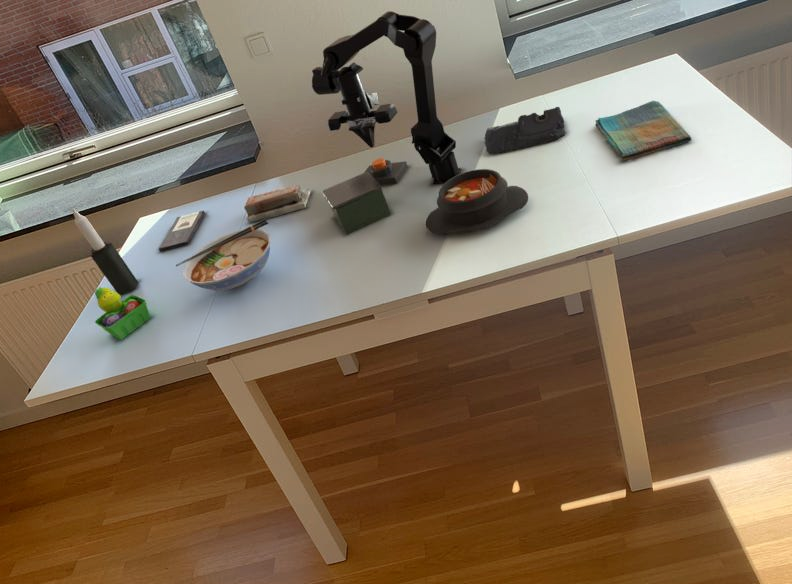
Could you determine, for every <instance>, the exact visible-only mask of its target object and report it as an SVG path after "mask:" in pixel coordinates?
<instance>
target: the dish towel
mask: <svg viewBox="0 0 792 584" xmlns="http://www.w3.org/2000/svg"><path fill="white" fill-rule="evenodd" d="M594 125H595V127H596V129H598V131H599V132H600V133H601V134H602V135H603V136H604V138H605V139H606V140H607V142H609V144H610V145H611V146H612V147H613V148H614V150H615V152H616V153H617V154H618V156H619V157H620V158H621V160H622V161H623V162H625V161H628V160H631V159H634V158H638V157H641V156H645V155H649V154H651V153H654V152H658V151H662V150H666V149H669V148H673V147H677V146H678V145H679V146H680V145H683V144H687V143H689V142H691V141H692V137H691V136H690V134H689V133H688V132H687V131H686V130H685V128H684V127H682V125H681V124H680V123H679V122H678V121H677V120H676V119H675V117H673V115H671V113H670V112H669V111H668V110H667V109H666V107H664V105H663V104H662V103H661V102H660V101H659V100H651V101H648V102H646V103H644V104H642V105H638V106H637V107H633V108H631V109H627V110H625V111H623V112H620V113H617V114H613V115H609V116H603V117H598V118H597V119H596V120H595V124H594Z"/></svg>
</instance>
